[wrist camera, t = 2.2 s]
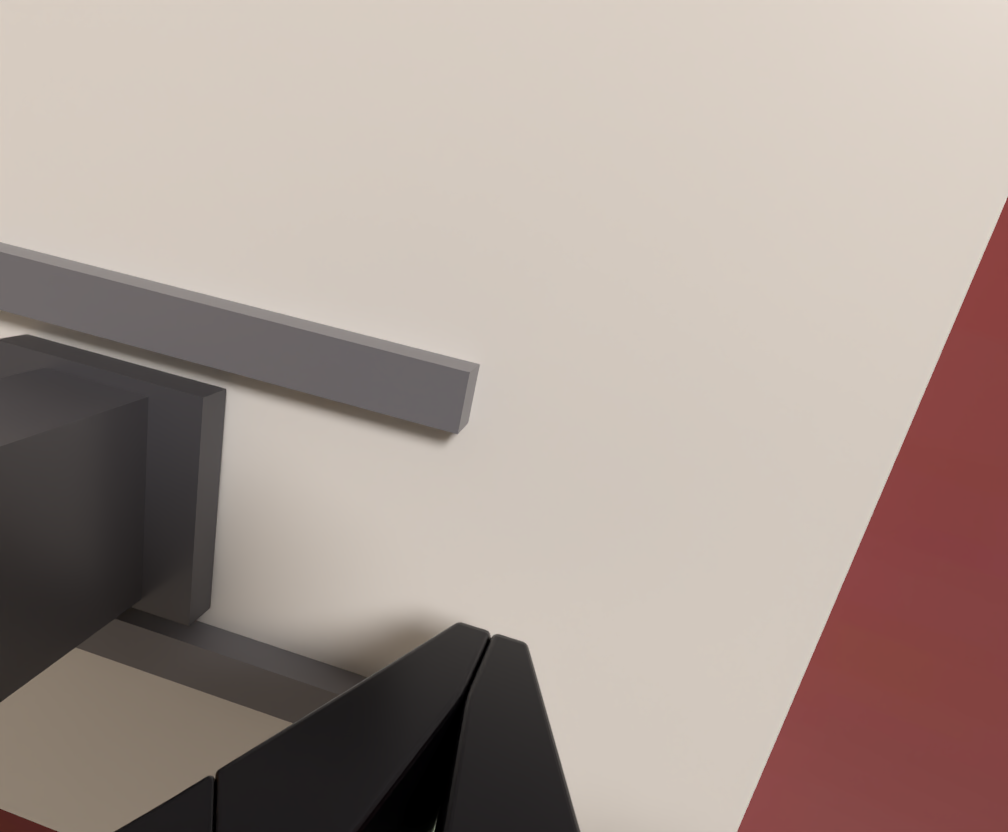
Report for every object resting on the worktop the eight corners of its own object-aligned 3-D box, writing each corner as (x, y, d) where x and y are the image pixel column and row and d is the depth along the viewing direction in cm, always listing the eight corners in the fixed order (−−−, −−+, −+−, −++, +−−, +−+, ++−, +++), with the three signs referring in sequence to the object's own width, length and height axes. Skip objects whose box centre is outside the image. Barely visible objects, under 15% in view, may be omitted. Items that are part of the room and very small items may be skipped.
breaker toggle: (226, 389, 9) (-52, 494, 5) (210, 607, 10) (-30, 815, 7) (27, 333, 9) (-352, 397, 6) (32, 549, 11) (-283, 714, 7)
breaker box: (955, 58, 9) (1138, -45, 6) (640, 890, 14) (638, 1098, 10) (-231, -143, 12) (-581, -291, 8) (-138, 611, 17) (-333, 706, 13)
